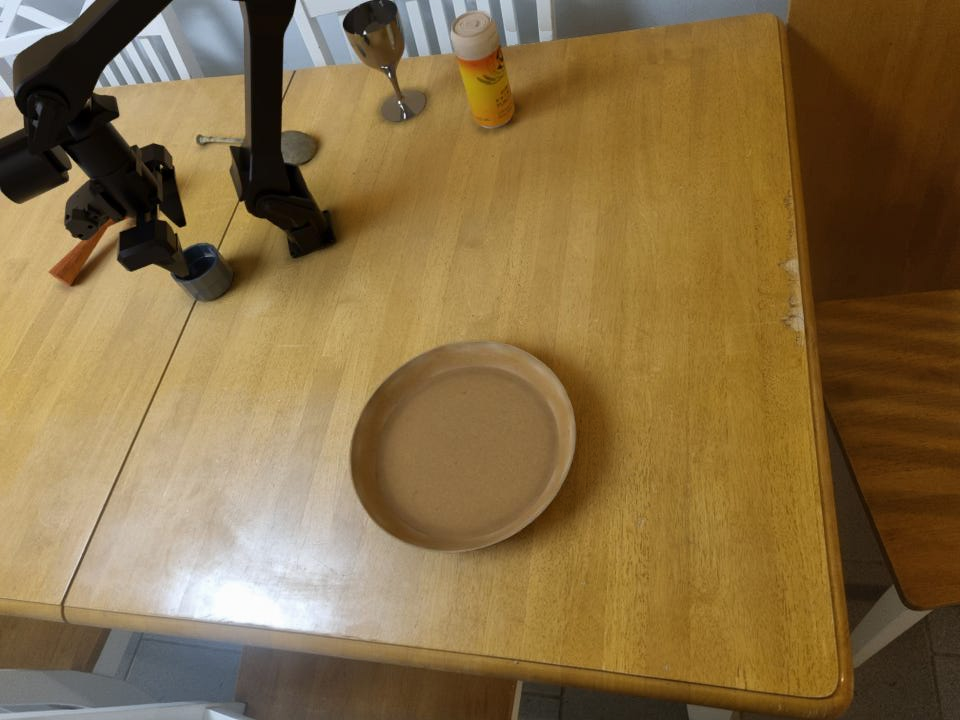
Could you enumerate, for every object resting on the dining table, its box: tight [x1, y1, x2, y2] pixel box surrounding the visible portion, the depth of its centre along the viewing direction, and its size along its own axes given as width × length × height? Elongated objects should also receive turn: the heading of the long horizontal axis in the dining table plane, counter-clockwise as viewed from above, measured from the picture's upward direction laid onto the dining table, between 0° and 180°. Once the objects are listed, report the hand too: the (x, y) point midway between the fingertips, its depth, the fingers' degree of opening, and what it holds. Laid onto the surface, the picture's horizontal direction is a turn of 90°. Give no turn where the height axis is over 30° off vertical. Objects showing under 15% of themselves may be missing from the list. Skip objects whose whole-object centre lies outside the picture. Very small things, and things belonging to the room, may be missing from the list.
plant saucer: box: [348, 339, 577, 554], centre depth 77 cm, size 24×24×3 cm
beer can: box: [450, 9, 516, 129], centre depth 100 cm, size 6×6×15 cm
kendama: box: [47, 216, 130, 287], centre depth 109 cm, size 6×6×20 cm
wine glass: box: [342, 0, 427, 123], centre depth 106 cm, size 8×8×15 cm
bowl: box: [170, 242, 234, 302], centre depth 99 cm, size 7×7×4 cm
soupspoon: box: [195, 129, 317, 165], centre depth 114 cm, size 22×3×7 cm
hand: (184, 249), depth 95 cm, fingers open, 9 cm apart
